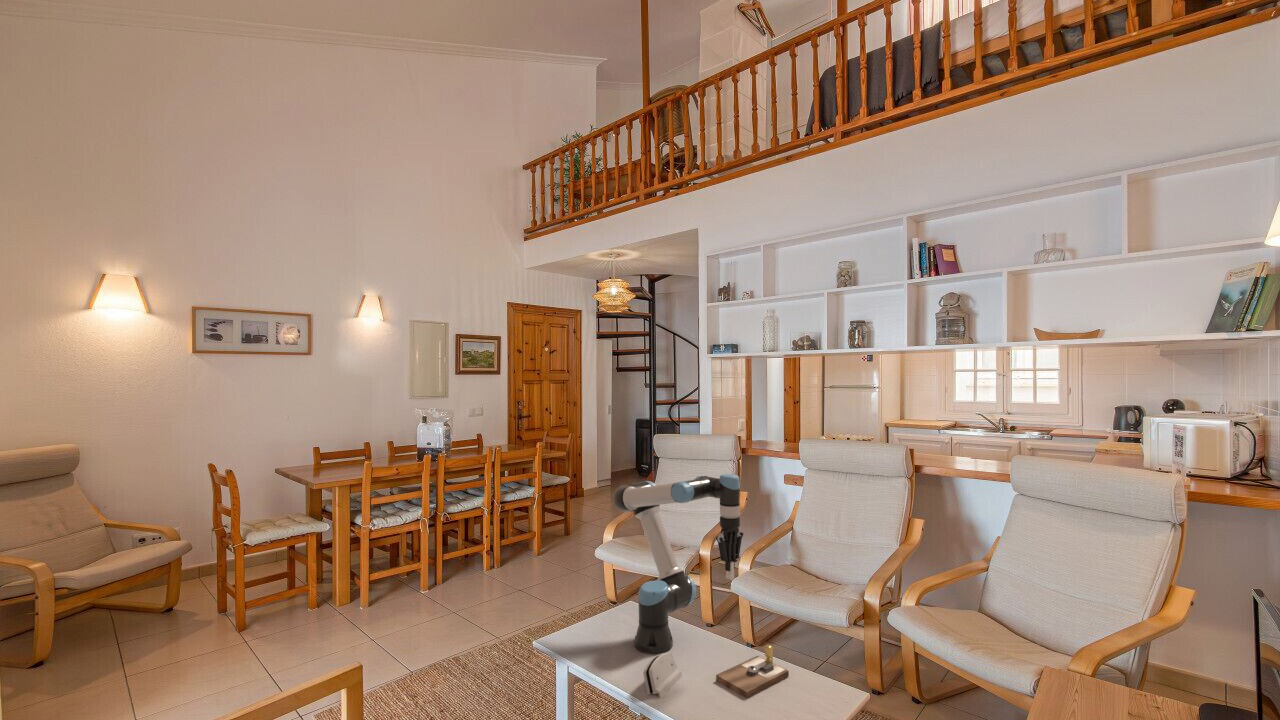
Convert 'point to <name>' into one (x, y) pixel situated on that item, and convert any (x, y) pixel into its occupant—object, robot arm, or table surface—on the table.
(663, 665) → the hinge
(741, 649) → the table surface
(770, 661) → the swing bar
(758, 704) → the table surface
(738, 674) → the board
